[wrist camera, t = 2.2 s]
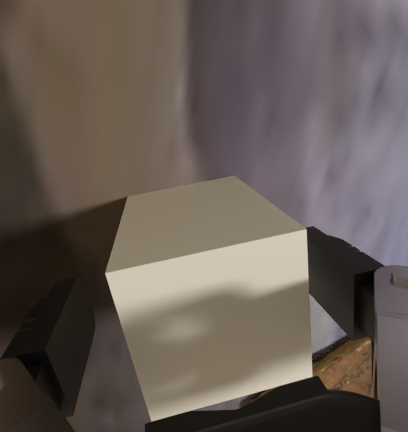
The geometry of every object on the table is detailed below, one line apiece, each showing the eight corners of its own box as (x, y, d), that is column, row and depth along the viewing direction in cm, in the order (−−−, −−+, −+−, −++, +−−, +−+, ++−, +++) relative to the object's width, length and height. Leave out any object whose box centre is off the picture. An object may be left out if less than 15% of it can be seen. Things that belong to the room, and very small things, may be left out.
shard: (389, 302, 19) (412, 321, 17) (420, 375, 21) (443, 397, 20) (243, 390, 19) (252, 417, 17) (292, 451, 22) (303, 479, 20)
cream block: (234, 175, 14) (306, 229, 7) (245, 267, 16) (312, 377, 9) (127, 196, 13) (104, 273, 7) (151, 289, 15) (151, 421, 9)
